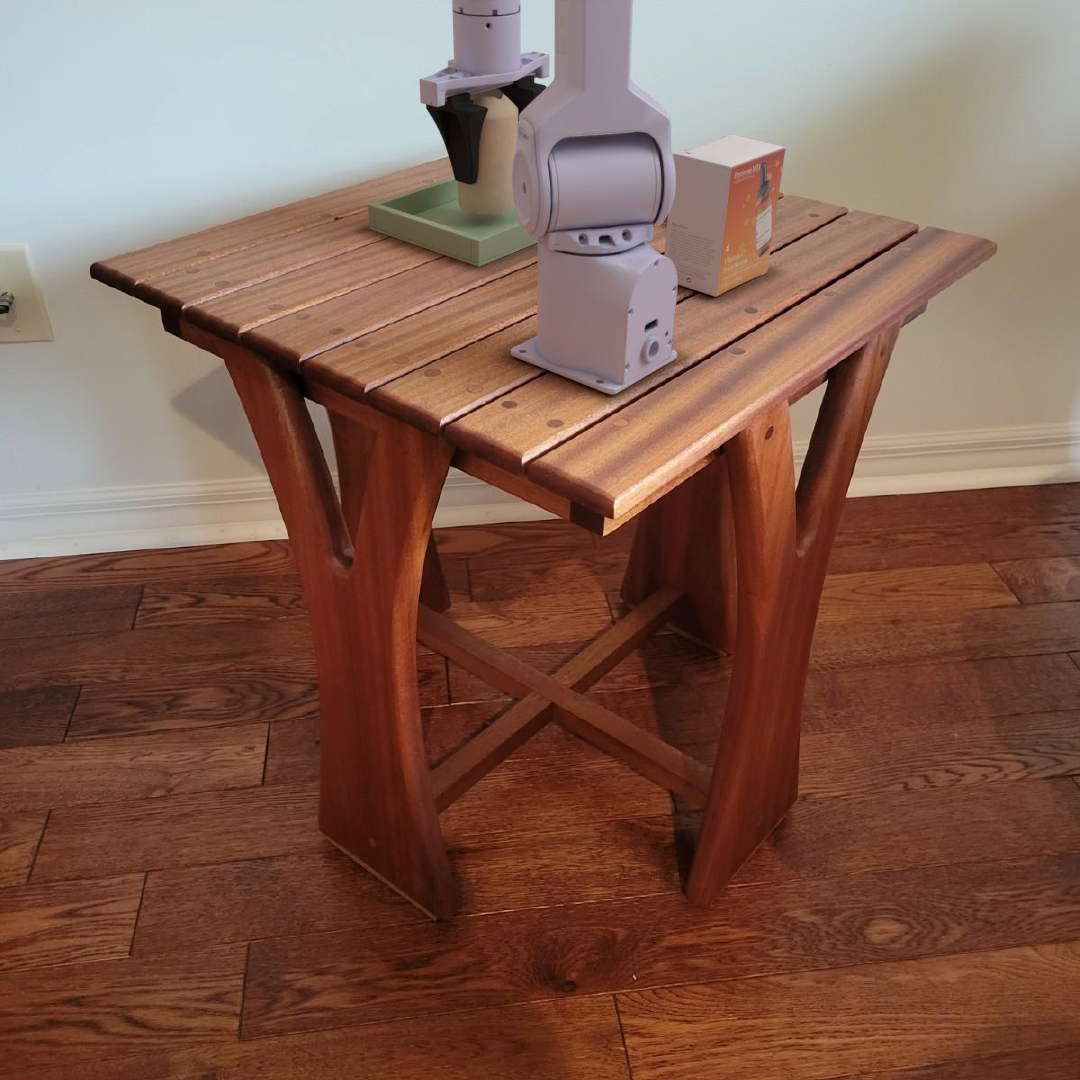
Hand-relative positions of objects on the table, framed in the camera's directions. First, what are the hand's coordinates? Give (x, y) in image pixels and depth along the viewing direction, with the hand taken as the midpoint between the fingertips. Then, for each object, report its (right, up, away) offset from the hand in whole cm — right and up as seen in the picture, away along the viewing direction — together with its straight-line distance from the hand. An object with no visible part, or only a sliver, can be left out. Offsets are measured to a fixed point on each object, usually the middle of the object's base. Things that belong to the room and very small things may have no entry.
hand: (488, 173), depth 100 cm
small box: (+19, -11, -7) cm, 24 cm away
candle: (0, -2, +2) cm, 3 cm away
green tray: (0, -4, +3) cm, 4 cm away
